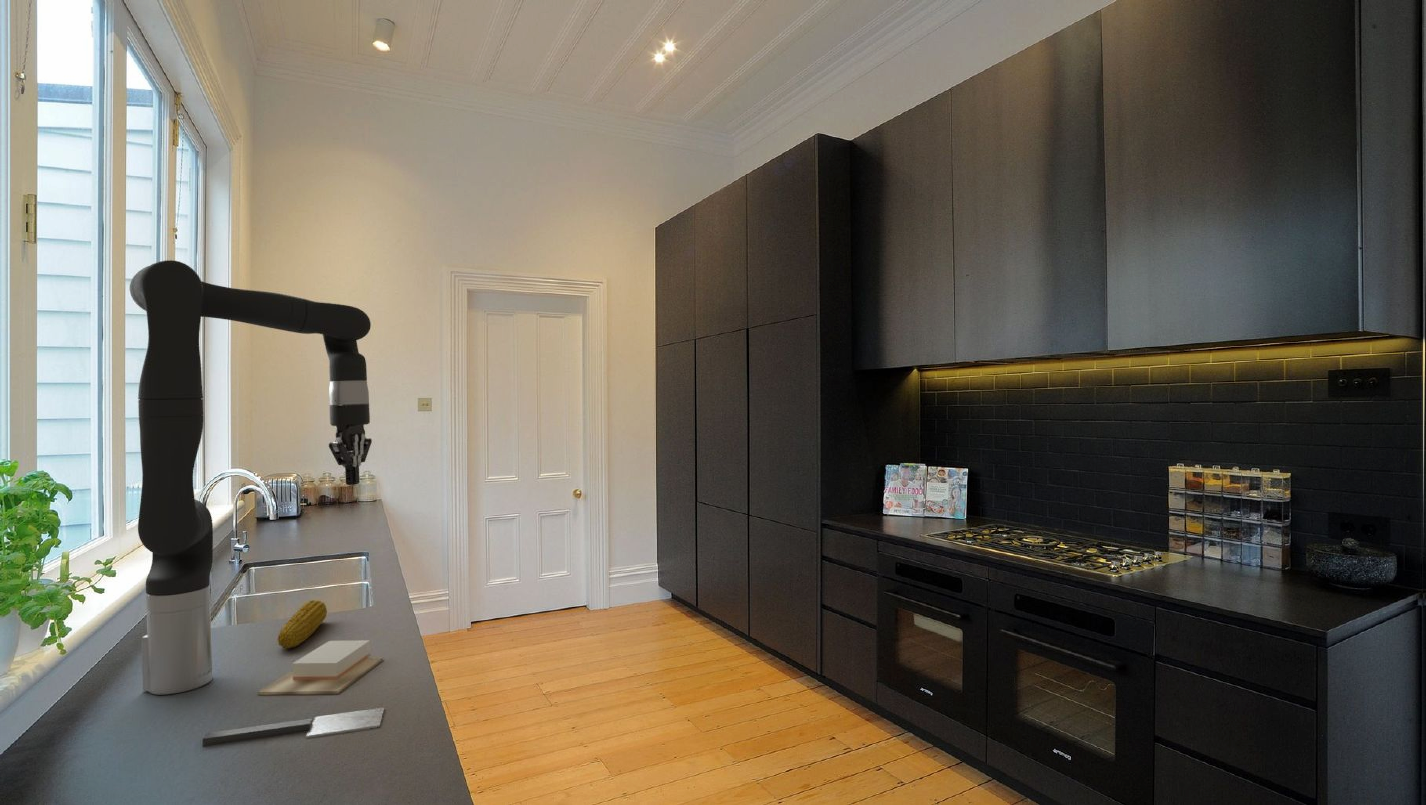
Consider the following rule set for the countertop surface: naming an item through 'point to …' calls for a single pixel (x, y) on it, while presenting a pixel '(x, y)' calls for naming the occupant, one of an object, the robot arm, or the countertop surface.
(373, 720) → the knife with black handle
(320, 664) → the sponge
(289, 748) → the countertop surface
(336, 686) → the board
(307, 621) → the food
